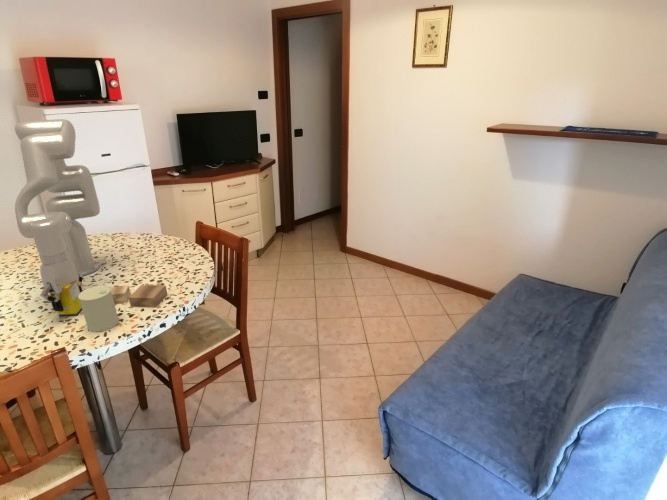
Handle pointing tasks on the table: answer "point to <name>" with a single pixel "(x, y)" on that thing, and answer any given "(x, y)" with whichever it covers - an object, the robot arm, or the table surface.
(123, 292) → the oak brick
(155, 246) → the table surface
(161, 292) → the base brick
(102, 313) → the can
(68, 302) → the supplement box
